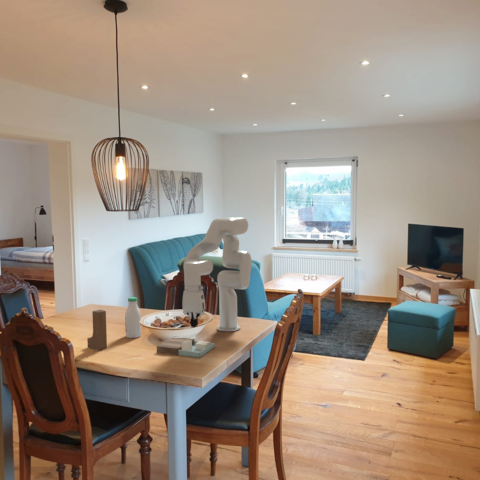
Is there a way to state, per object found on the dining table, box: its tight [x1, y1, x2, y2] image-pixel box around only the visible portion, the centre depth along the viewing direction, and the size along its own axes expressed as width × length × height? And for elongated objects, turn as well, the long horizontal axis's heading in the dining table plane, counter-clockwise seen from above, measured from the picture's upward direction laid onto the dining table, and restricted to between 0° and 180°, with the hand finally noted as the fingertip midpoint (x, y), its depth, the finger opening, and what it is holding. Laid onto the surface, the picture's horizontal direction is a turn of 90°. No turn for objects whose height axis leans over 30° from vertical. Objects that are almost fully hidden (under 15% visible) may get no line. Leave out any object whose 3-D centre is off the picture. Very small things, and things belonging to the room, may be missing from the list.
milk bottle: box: [124, 296, 142, 339], centre depth 233 cm, size 8×8×20 cm
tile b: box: [182, 340, 192, 351], centre depth 206 cm, size 5×5×2 cm
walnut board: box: [156, 337, 196, 356], centre depth 213 cm, size 16×11×3 cm
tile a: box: [195, 340, 211, 350], centre depth 212 cm, size 5×5×2 cm
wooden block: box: [86, 309, 108, 351], centre depth 214 cm, size 9×4×18 cm, turn 54°
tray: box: [178, 340, 215, 359], centre depth 209 cm, size 15×11×2 cm
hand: (194, 326), depth 214 cm, fingers closed
